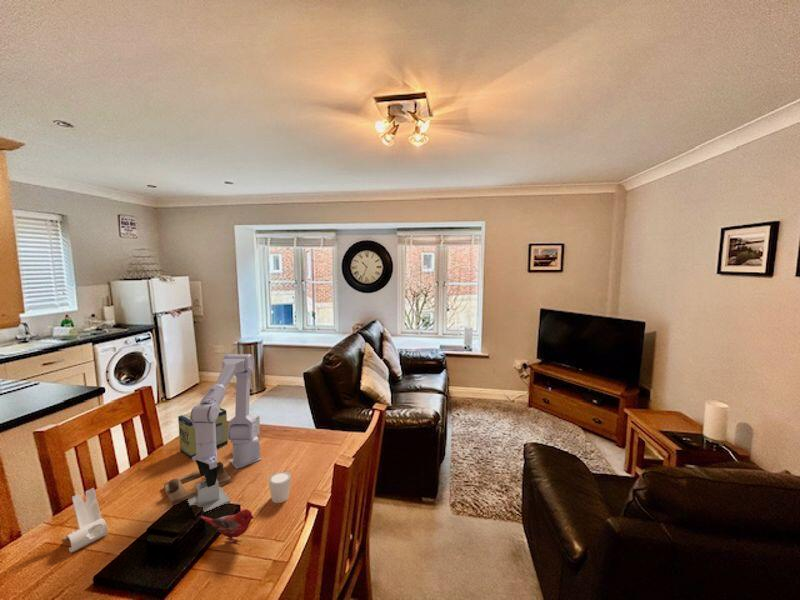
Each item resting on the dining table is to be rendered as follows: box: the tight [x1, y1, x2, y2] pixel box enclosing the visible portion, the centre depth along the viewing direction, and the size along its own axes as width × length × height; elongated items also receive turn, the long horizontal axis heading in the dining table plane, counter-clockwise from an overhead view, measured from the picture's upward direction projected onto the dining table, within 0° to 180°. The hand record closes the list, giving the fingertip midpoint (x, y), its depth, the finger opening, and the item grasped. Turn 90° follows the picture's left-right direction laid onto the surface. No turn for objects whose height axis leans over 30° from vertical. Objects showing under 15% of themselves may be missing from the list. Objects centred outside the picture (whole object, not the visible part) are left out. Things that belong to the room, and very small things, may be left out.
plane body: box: [163, 461, 232, 507], centre depth 119 cm, size 18×13×4 cm
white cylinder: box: [268, 471, 291, 504], centre depth 112 cm, size 7×7×7 cm
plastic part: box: [62, 487, 109, 553], centre depth 95 cm, size 8×10×12 cm
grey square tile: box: [186, 486, 231, 512], centre depth 110 cm, size 10×10×1 cm
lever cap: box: [194, 479, 219, 507], centre depth 109 cm, size 6×4×6 cm, turn 135°
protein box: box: [177, 407, 229, 460], centre depth 144 cm, size 10×16×16 cm
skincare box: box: [250, 414, 261, 442], centre depth 148 cm, size 6×4×12 cm
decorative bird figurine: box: [198, 508, 255, 543], centre depth 94 cm, size 3×18×10 cm, turn 80°
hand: (207, 480), depth 109 cm, fingers open, 7 cm apart
